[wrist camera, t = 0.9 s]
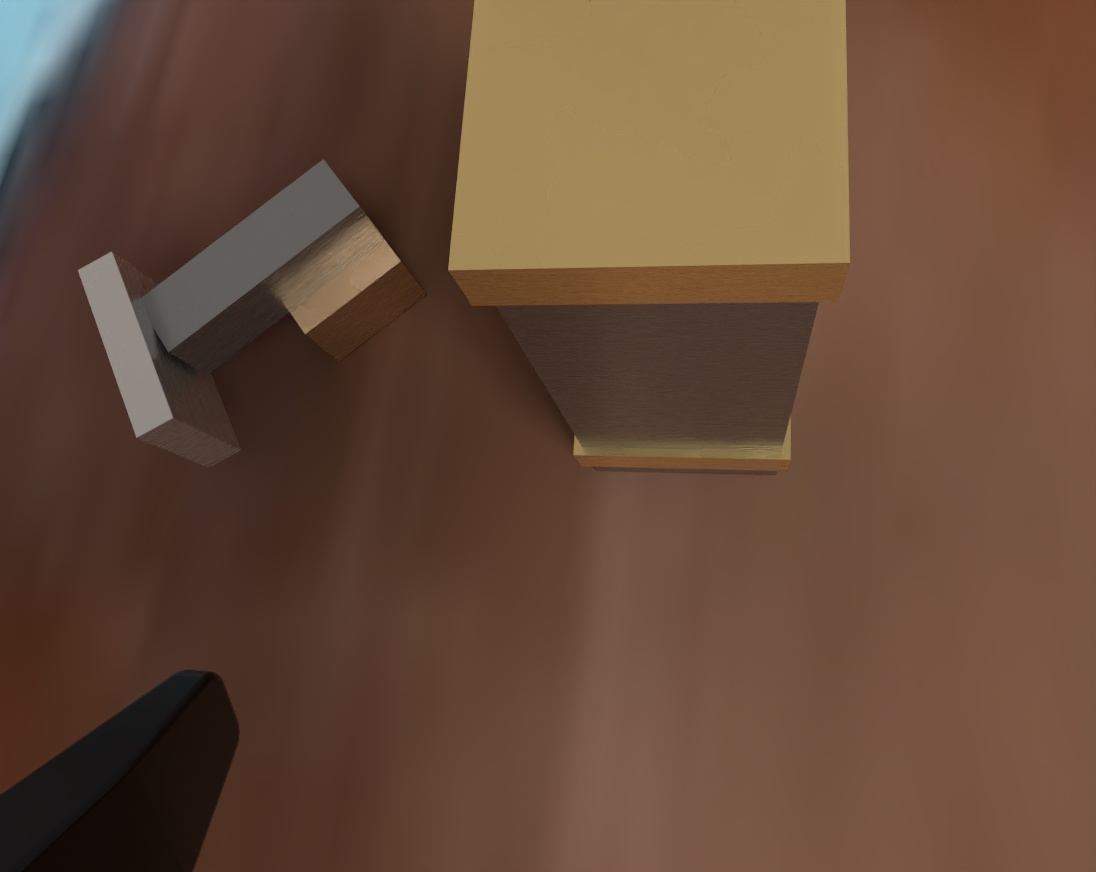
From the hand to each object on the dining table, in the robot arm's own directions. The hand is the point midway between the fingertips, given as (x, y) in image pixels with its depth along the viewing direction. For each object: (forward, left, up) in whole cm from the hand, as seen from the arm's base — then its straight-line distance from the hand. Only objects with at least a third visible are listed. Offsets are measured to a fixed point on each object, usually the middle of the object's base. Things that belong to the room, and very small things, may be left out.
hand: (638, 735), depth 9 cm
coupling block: (+7, +3, -14) cm, 16 cm away
